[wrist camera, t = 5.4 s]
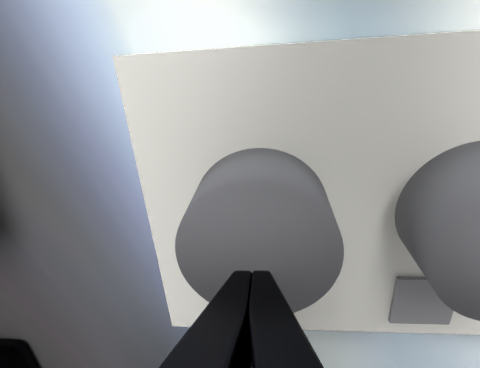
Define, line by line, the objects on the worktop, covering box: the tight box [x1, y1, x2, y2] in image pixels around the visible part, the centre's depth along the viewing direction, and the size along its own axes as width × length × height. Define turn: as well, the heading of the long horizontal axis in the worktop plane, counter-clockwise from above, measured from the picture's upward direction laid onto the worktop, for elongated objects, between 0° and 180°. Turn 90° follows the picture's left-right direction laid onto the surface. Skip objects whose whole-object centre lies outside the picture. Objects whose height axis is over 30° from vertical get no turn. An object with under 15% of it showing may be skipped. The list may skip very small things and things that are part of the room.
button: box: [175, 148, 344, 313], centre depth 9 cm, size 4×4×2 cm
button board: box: [113, 30, 480, 335], centre depth 12 cm, size 12×22×2 cm, turn 94°
